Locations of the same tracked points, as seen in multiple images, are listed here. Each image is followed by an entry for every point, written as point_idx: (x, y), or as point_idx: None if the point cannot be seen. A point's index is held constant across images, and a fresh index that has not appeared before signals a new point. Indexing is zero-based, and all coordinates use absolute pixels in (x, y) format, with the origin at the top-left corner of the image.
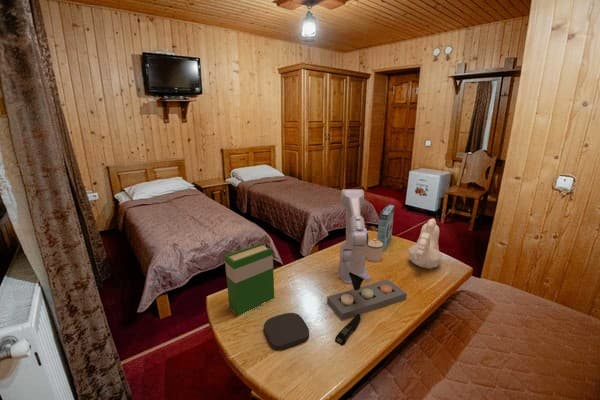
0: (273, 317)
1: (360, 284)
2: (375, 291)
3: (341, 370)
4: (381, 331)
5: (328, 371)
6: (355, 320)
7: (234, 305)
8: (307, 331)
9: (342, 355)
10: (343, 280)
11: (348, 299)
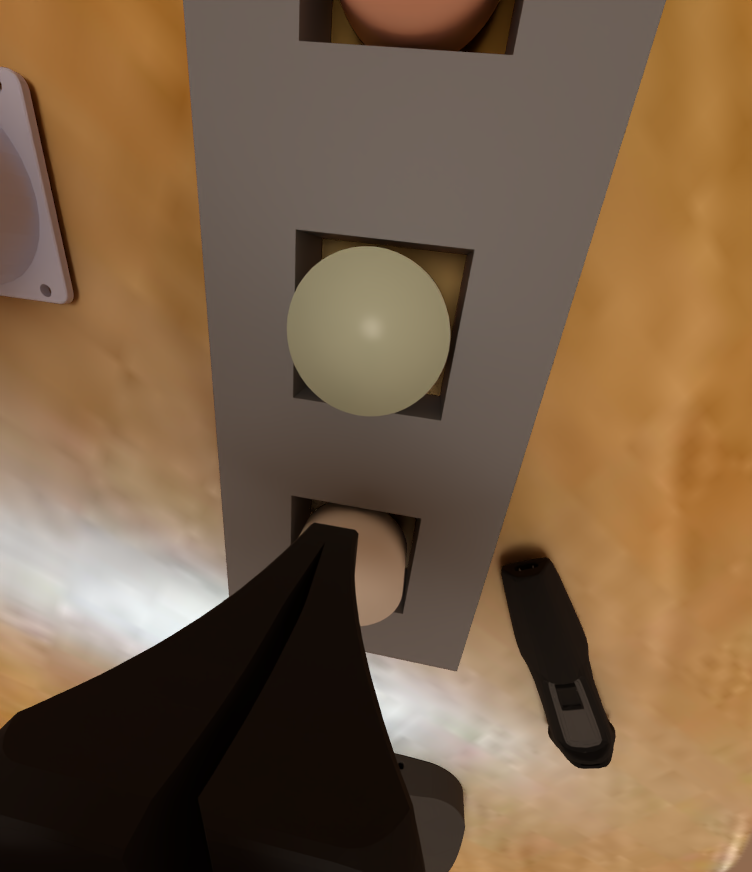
0: None
1: (349, 598)
2: (372, 162)
3: (705, 803)
4: (746, 510)
5: (659, 825)
6: (561, 637)
7: None
8: (437, 804)
9: (650, 759)
10: (12, 296)
11: (367, 590)
